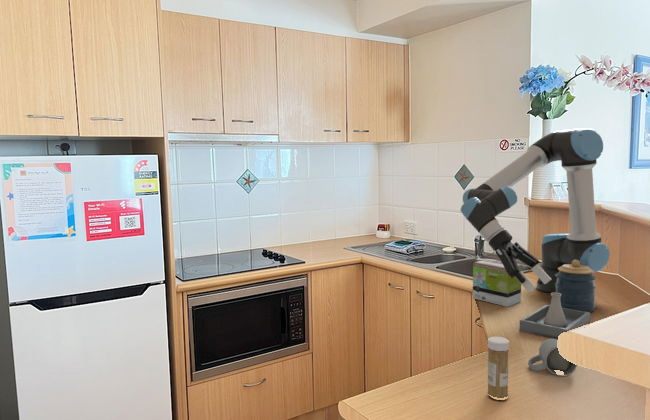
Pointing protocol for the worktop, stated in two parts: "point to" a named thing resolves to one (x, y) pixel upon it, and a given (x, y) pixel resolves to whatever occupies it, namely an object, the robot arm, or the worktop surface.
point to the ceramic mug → (551, 359)
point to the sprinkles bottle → (498, 367)
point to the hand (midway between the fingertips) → (540, 286)
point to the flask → (555, 312)
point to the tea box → (495, 283)
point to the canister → (576, 287)
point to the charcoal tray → (537, 326)
